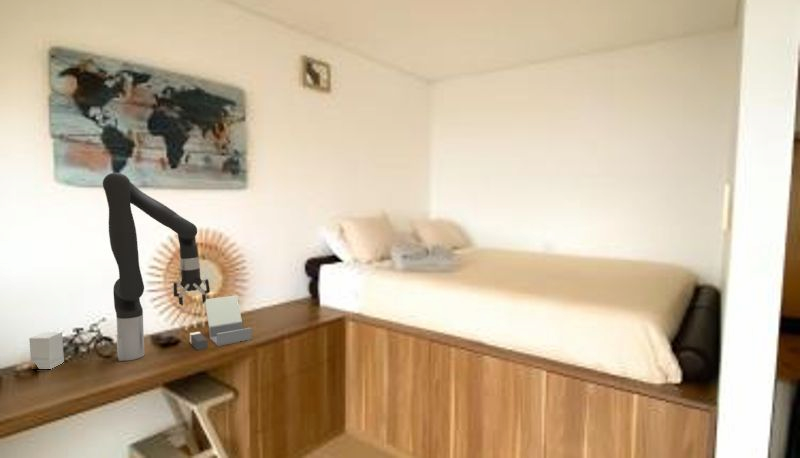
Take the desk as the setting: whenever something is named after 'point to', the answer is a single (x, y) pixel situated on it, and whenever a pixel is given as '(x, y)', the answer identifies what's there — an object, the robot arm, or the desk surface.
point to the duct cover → (223, 310)
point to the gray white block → (198, 341)
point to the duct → (229, 333)
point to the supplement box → (47, 350)
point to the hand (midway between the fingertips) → (192, 303)
